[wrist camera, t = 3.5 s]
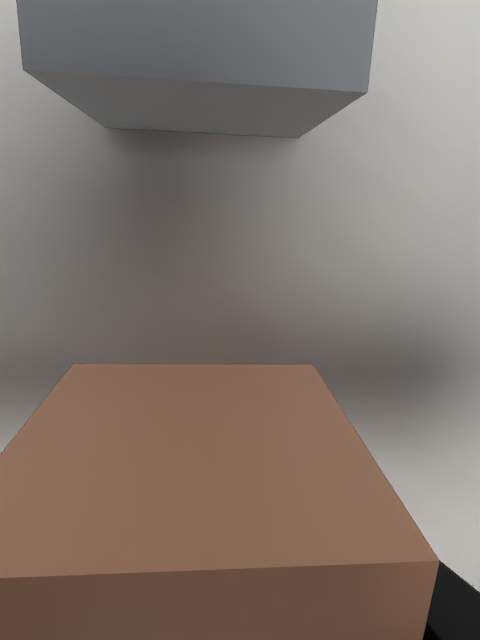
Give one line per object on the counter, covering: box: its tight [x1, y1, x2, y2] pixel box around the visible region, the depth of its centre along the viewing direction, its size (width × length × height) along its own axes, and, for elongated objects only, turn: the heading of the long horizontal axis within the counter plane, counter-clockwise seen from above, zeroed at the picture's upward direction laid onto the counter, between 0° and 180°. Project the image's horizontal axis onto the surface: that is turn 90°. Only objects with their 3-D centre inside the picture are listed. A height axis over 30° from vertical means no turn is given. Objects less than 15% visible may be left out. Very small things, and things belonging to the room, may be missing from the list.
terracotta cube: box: [0, 364, 439, 640], centre depth 7 cm, size 5×5×5 cm
